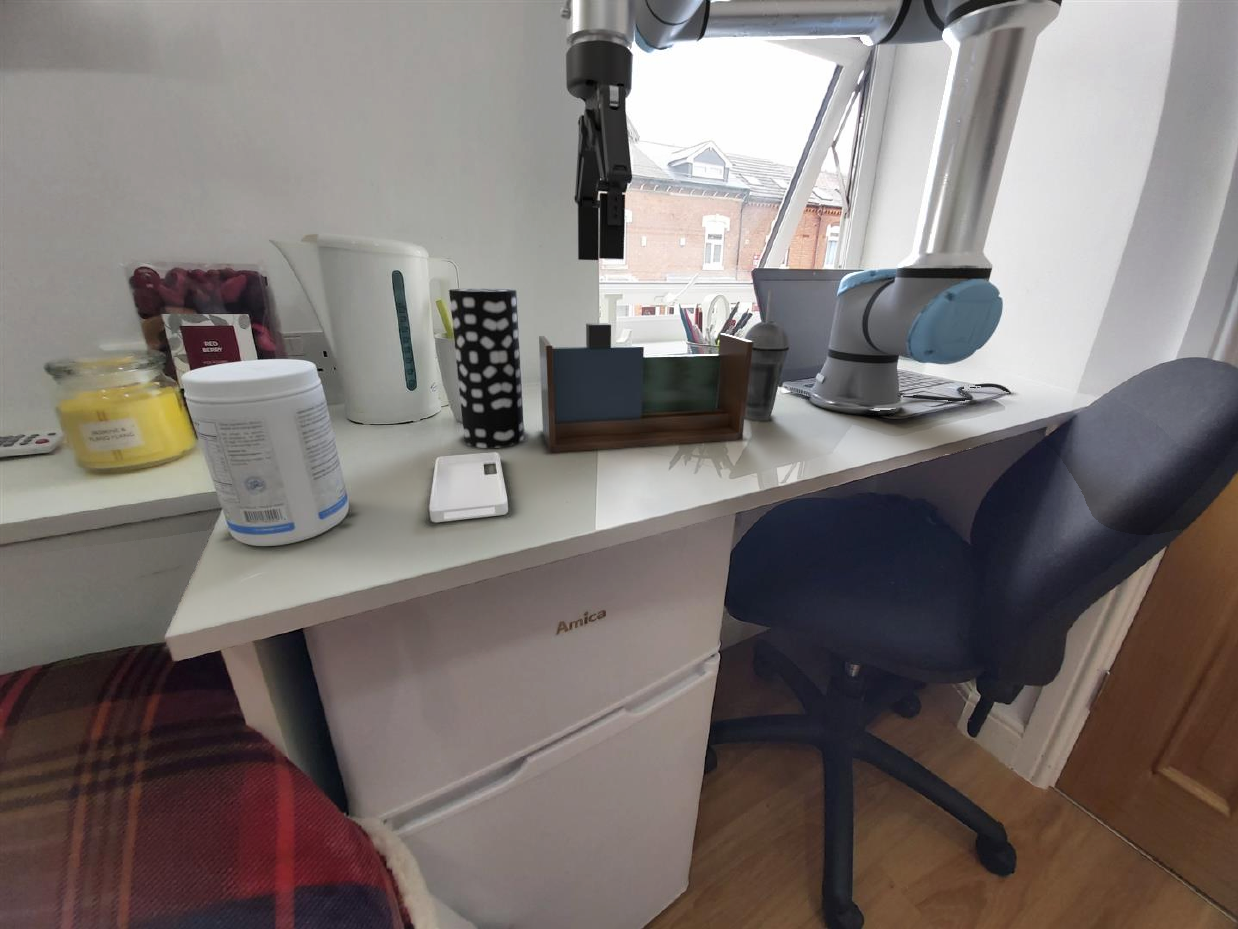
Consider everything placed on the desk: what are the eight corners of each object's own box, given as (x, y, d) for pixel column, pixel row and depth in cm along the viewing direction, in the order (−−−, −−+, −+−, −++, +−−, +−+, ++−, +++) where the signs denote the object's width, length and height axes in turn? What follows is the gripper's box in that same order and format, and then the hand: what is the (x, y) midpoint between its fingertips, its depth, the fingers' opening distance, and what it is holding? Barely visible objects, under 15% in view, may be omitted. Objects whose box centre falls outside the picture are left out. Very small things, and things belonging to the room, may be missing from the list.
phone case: (437, 466, 60) (430, 524, 47) (436, 456, 60) (428, 511, 47) (499, 461, 62) (509, 515, 49) (498, 451, 62) (508, 502, 48)
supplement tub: (322, 493, 53) (291, 354, 47) (370, 519, 48) (341, 366, 42) (213, 529, 46) (160, 369, 40) (255, 564, 40) (202, 385, 35)
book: (638, 426, 73) (641, 322, 68) (641, 430, 71) (645, 324, 66) (554, 431, 70) (550, 323, 65) (556, 435, 69) (552, 325, 63)
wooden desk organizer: (716, 422, 80) (724, 333, 75) (742, 439, 72) (753, 341, 67) (542, 432, 74) (538, 336, 68) (550, 453, 66) (546, 345, 60)
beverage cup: (738, 422, 80) (753, 291, 73) (730, 410, 87) (743, 289, 79) (784, 423, 80) (803, 292, 73) (772, 411, 87) (789, 290, 79)
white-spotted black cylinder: (510, 450, 66) (499, 292, 59) (453, 445, 68) (436, 290, 60) (532, 432, 74) (525, 289, 66) (480, 427, 75) (468, 288, 68)
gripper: (551, 84, 65) (555, 259, 73) (588, -12, 42) (588, 257, 50) (607, 90, 67) (605, 260, 74) (671, 1, 44) (658, 259, 52)
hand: (598, 259), depth 62 cm, fingers open, 13 cm apart
